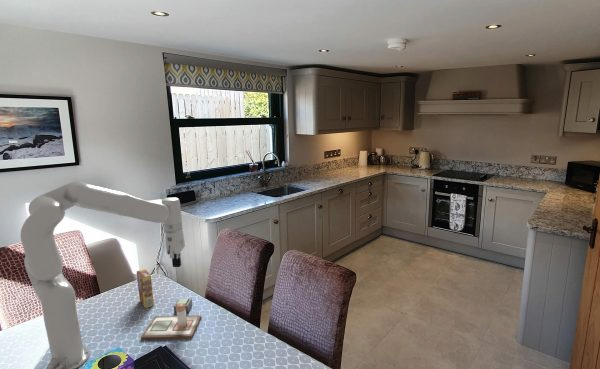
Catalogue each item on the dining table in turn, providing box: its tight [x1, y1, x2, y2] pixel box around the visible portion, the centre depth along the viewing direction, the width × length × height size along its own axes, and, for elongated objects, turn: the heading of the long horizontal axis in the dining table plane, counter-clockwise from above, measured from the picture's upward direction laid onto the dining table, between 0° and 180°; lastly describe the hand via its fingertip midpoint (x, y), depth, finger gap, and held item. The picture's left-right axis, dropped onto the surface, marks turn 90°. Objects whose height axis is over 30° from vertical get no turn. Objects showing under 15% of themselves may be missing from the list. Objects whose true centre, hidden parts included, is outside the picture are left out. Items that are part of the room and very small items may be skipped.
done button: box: [176, 298, 189, 305], centre depth 157 cm, size 4×4×2 cm
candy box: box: [136, 268, 155, 309], centre depth 162 cm, size 9×4×15 cm, turn 39°
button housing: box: [173, 298, 193, 314], centre depth 157 cm, size 6×6×4 cm
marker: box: [176, 303, 187, 328], centre depth 142 cm, size 4×4×9 cm
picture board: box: [140, 314, 202, 341], centre depth 143 cm, size 14×20×1 cm
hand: (177, 266), depth 153 cm, fingers closed
